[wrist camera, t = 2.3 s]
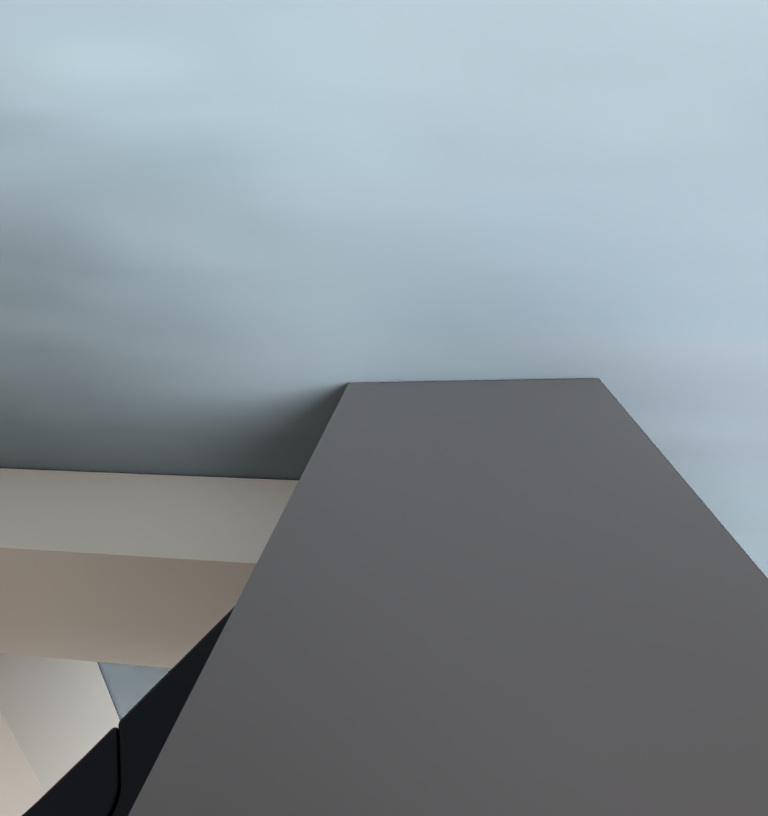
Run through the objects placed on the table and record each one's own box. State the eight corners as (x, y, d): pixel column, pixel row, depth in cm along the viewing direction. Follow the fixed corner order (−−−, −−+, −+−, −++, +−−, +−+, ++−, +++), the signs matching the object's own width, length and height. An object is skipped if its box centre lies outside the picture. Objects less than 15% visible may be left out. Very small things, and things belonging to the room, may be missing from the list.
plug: (574, 575, 10) (787, 1201, 4) (367, 568, 11) (256, 1101, 4) (598, 377, 8) (1077, 945, 2) (348, 383, 9) (119, 834, 3)
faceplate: (377, 811, 15) (360, 968, 12) (-125, 749, 17) (-248, 869, 14) (357, 482, 10) (318, 607, 7) (-343, 454, 12) (-604, 539, 9)
